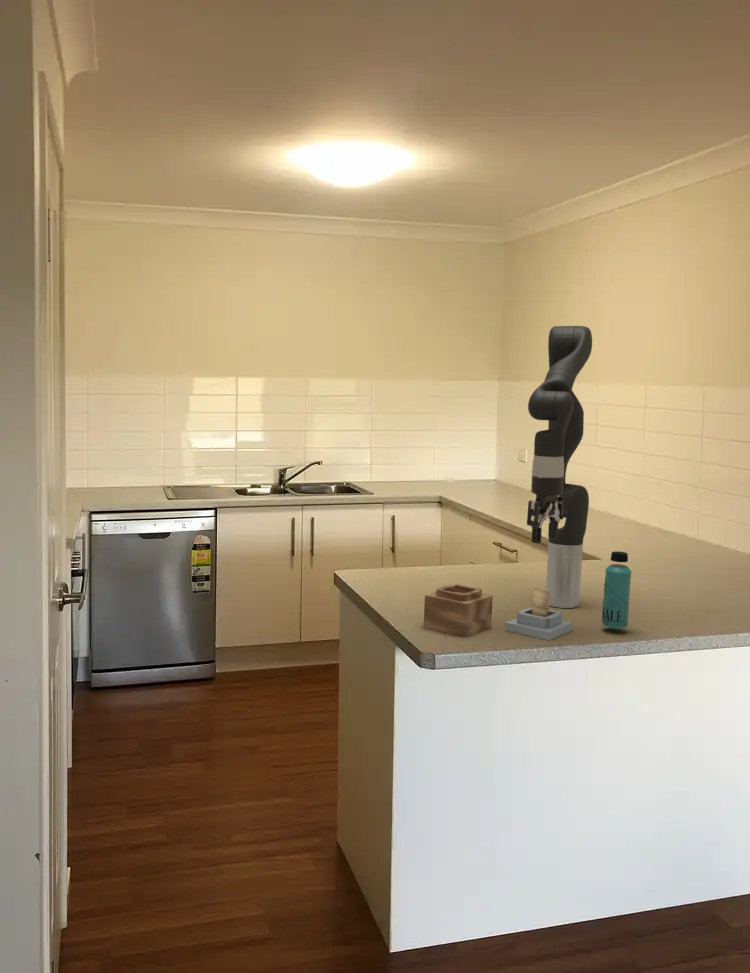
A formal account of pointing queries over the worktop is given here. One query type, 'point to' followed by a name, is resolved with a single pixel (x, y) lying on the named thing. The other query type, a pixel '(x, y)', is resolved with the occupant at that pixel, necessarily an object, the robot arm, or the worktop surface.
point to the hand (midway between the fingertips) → (544, 540)
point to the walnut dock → (458, 610)
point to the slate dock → (539, 624)
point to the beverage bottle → (616, 593)
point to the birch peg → (540, 602)
